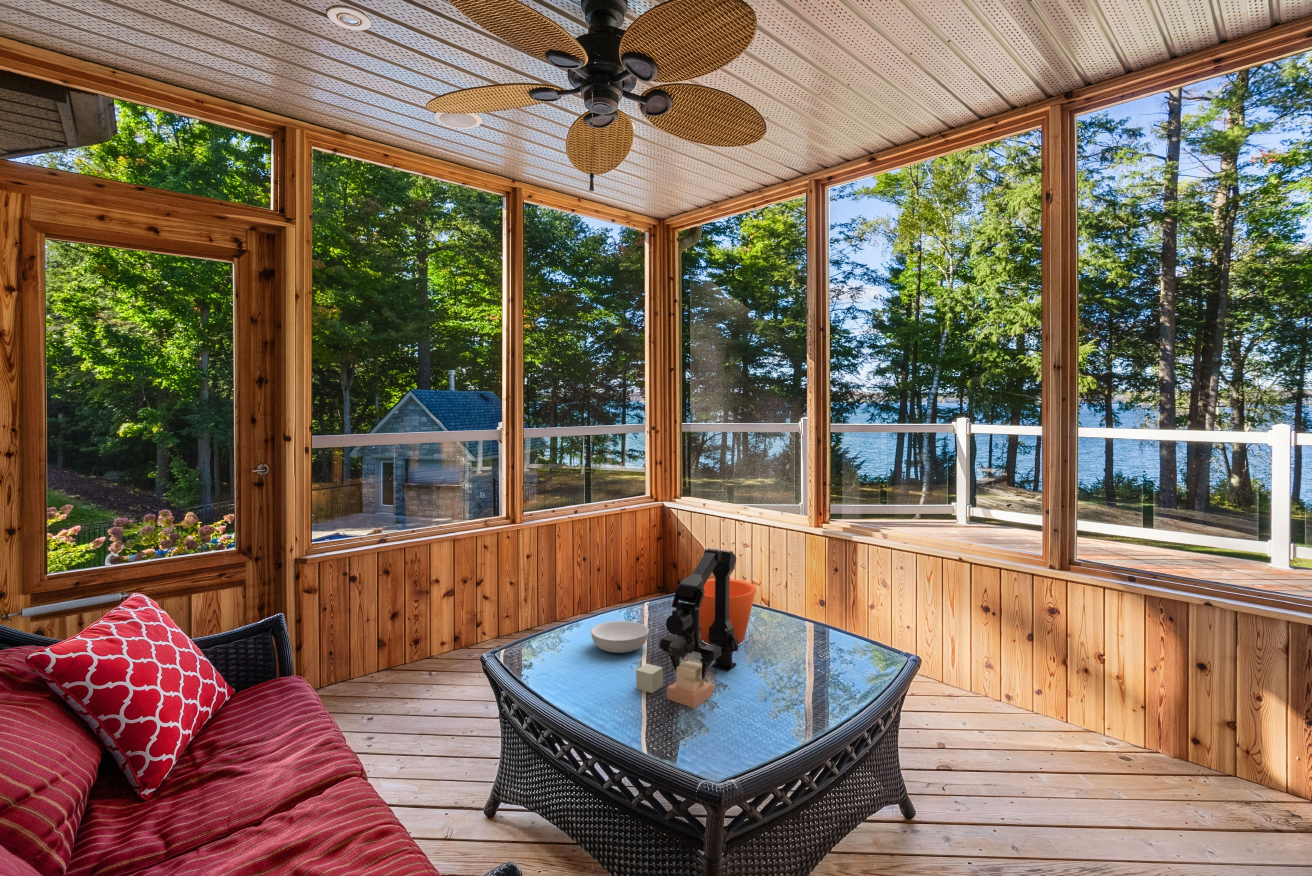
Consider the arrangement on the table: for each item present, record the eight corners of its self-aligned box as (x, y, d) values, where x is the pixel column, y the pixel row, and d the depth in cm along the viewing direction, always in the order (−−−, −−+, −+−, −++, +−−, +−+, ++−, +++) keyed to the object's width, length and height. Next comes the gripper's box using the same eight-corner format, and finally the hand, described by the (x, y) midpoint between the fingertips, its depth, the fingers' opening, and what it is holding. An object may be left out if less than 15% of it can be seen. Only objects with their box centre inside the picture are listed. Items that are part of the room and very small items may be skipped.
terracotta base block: (685, 688, 203) (685, 675, 203) (712, 697, 197) (712, 684, 197) (666, 700, 195) (666, 687, 195) (694, 709, 189) (694, 696, 189)
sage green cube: (647, 681, 207) (647, 663, 206) (662, 686, 203) (662, 667, 203) (636, 688, 202) (636, 669, 201) (652, 693, 198) (652, 674, 198)
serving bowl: (659, 645, 238) (659, 626, 238) (626, 664, 221) (626, 644, 220) (613, 634, 249) (613, 616, 249) (579, 651, 232) (579, 632, 231)
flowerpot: (691, 626, 258) (691, 577, 257) (755, 629, 254) (755, 579, 253) (686, 650, 233) (686, 595, 232) (756, 653, 229) (756, 598, 228)
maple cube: (686, 679, 200) (686, 660, 199) (703, 684, 196) (703, 665, 196) (676, 686, 195) (676, 667, 194) (693, 691, 191) (693, 672, 191)
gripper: (649, 626, 193) (649, 677, 194) (704, 638, 183) (704, 692, 184) (669, 616, 202) (669, 664, 203) (722, 627, 192) (722, 678, 193)
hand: (690, 675), depth 195 cm, fingers open, 9 cm apart
